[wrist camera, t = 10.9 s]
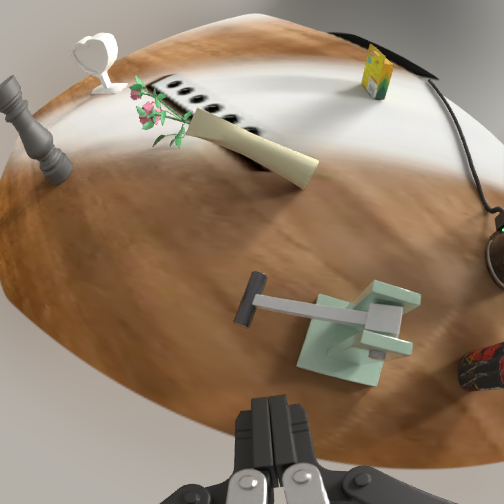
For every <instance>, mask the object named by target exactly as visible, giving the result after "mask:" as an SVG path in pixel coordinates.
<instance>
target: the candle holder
mask: <svg viewBox="0 0 504 504" xmlns="http://www.w3.org/2000/svg"><path fill="white" fill-rule="evenodd" d="M21 95H22V92H21V87H20V85H19V84H18V82H17V80H16V78H15V76H14V75H12V76H10V77H9V78H8V79H6V80H5V81H4V82H3V83H2V84H0V112H1V113H4V114H6V117H5V120H6V122H10V123H12V124H13V125H14V126H15V128H16V130H17V131H18V132H19V135H20V138H21V140H22V143H23V145H24V148H25V150H26V152H27V154H28V156H29V157H30V158H32V159H37V160H38V161H40V169H41V170H42V171H43V174H44V176H45V177H46V178H47V179H48V180H49V182H50V183H51V184H52V185H55V186H56V185H59V184H61V183H62V182H64V181H65V180H66V179H67V178H68V177H69V175H70V174H71V172H72V169H73V164H72V163H71V161H70V160H69V158H68V157H67V156H66V154H65V153H64V152H62V151H61V150H60V149H59V148H54V145H53V136H52V134H51V133H50V132H49V131H48V130H47V129H45V128H44V127H43V126H42V125H41V124H40V123H38V122H37V121H36V120H35V119H34V118H33V116H32V115H31V113H30V112H29V110H28V108H27V105H28V101H27V100H22V96H21Z"/></svg>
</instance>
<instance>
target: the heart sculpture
mask: <svg viewBox="0 0 504 504" xmlns="http://www.w3.org/2000/svg"><path fill="white" fill-rule="evenodd" d="M70 53H71V56H72V58H73V60H74V61H75V62H76V64H77V65H78V66H79V67H80V68H81V69H83V70H84V71H86V72H87V73H89V74H91V75H94V76H95V77H97V78H100V80H101V83H102V84H101V85H100V86H98V87H97V88H95V89H94V90H93V91H92V93H91V94H114V93H118V92H120V91H122V90H123V89H125V88H126V86H127V85H128V83H115V84H111V82H110V80H109V77H108V75H107V71H108V69H109V68H110V67H111V66H112V65H113V63H114V62H115V60H116V58H117V53H118V48H117V43H116V40H115V38H114V36H113V35H111V34H109V33H98V34H96V35H95V36H93V37H91V36H87V37H85V38H83V39H82V40H80V41H79V42H77V43H76V44H74V45H73V46H72V47H71V49H70Z"/></svg>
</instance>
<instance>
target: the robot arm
mask: <svg viewBox="0 0 504 504" xmlns="http://www.w3.org/2000/svg"><path fill="white" fill-rule="evenodd" d="M428 82H429V83H430V84H431V85H432V86H433V88H434V89H435V90H436V92H437V93H438V94H439V96H440V97H441V99H442V100H443V102H444V103H445V105H446V106H447V108H448V110H449V112H450V114H451V116H452V118H453V120H454V122H455V124H456V127H457V129H458V131H459V134H460V137H461V140H462V143H463V146H464V149H465V152H466V155H467V158H468V161H469V165H470V168H471V171H472V174H473V177H474V179H475V182H476V185H477V189H478V192H479V195H480V197H481V200H482V202H483V204H484V206H485V208H486V209H487V211H489V212H490V213H492V214H493V213H496V212H500V214H499V215H498V216H497V217H496V218H495V224H496V230H497V231H496V232H495V233H493V234H492V235H491V236H490V242H489V243H488V245H487V247H486V262H487V266H488V269H489V272H490V274H491V276H492V278H493V279H494V281H495V282H496V283H497V284H498V285H499V286H500V287H501V288H503V289H504V210H503V209H502V208H501V207H495V208H493V209H492V208H491V207H490V206H489V205H488V204H487V202H486V200H485V198H484V195H483V192H482V189H481V185H480V182H479V179H478V176H477V174H476V171H475V168H474V165H473V162H472V158H471V155H470V152H469V149H468V146H467V144H466V141H465V138H464V135H463V132H462V130H461V128H460V125H459V123H458V121H457V119H456V117H455V115H454V113H453V111H452V109H451V107H450V106H449V104H448V102H447V101H446V99H445V98H444V96H443V95H442V94H441V92H440V91H439V90H438V88H437V87H436V86H435V85H434V83H433V82H432V81H431V80H430V79H429V80H428ZM269 400H270V404H269ZM235 431H236V432H235V459H234V471H233V474H232V475H231V476H230V478H229V479H227V480H226V481H224V482H223V483H220V484H217V485H213V486H209V487H205V488H204V487H202V486H200V485H197V484H188V485H184V486H182V487H180V488H179V489H178V490H177V491H175V492H174V493H173V494H172V495H170V496H169V497H168V498H167V499H165V500H164V501H163V502H161V503H160V504H274V490H273V488H275V487H279V485H278V479H279V483H280V487H284V492H285V497H286V502H287V504H457V503H454V502H451V501H448V500H445V499H443V498H440V497H437V496H435V495H432V494H430V493H427V492H424V491H422V490H420V489H417V488H415V487H413V486H410V485H408V484H406V483H404V482H401V481H399V480H397V479H395V478H393V477H390V476H389V475H387V474H384V473H382V472H381V471H379V470H377V469H375V468H373V467H370V466H358V467H355V468H352V469H351V470H349V471H331V470H327V469H325V468H323V467H322V466H320V465H319V464H318V462H317V460H316V457H315V452H314V447H313V442H312V437H311V433H310V428H309V423H308V418H307V414H306V411H305V410H304V409H303V407H302V406H301V405H300V404H294V405H288V406H287V399H286V394H283V395H276V396H269V399H268V397H262V398H253V399H251V410H248V411H241V412H240V413H239V415H238V417H237V419H236V426H235Z"/></svg>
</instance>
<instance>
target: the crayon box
mask: <svg viewBox="0 0 504 504" xmlns="http://www.w3.org/2000/svg"><path fill="white" fill-rule="evenodd" d="M374 50H375V51H374ZM393 68H394V65H393V64H392V63H391V62H390V61H388V60H387V59H386V58H385V56H384V55H383V54H382V53H381V52H380V51H379V50H378V49H376V48H375V47H374V46H373V45H372V44H370V47H369V50H368V54H367V59H366V64H365V69H364V74H363V78H362V83H361V84H363V86H364V87H365V88H366V89H367V91H368V92H369V93H370V94H371V96H372V97H373V99H381V100H384V99H385V96H386V92H387V89H388V85H389V82H390V78H391V75H392V71H393Z"/></svg>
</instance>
